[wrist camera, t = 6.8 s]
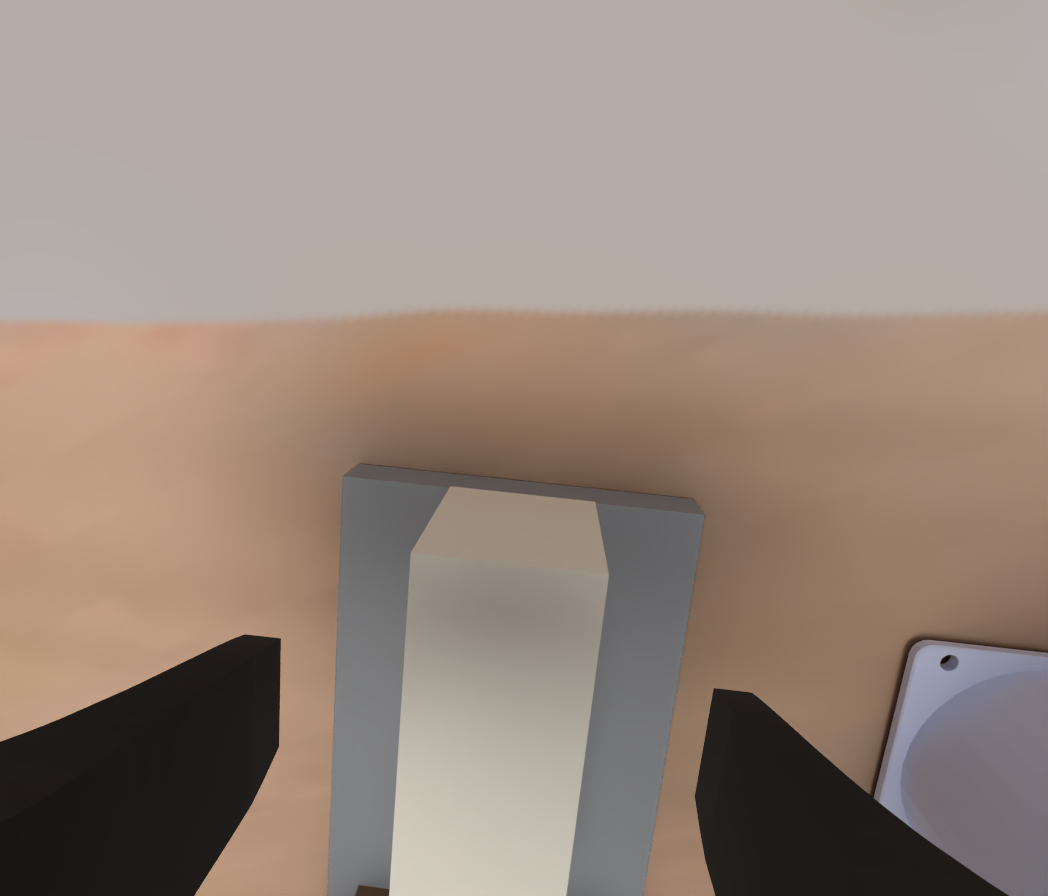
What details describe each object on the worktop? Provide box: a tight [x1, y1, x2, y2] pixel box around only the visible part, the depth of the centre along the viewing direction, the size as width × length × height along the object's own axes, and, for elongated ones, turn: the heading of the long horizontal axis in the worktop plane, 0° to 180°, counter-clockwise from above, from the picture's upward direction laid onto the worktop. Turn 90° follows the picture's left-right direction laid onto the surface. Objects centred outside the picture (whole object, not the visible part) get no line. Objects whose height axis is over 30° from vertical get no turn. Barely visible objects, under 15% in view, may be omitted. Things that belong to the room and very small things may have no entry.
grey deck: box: [327, 464, 705, 896], centre depth 22 cm, size 10×27×2 cm, turn 175°
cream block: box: [389, 486, 609, 896], centre depth 17 cm, size 4×11×5 cm, turn 174°
